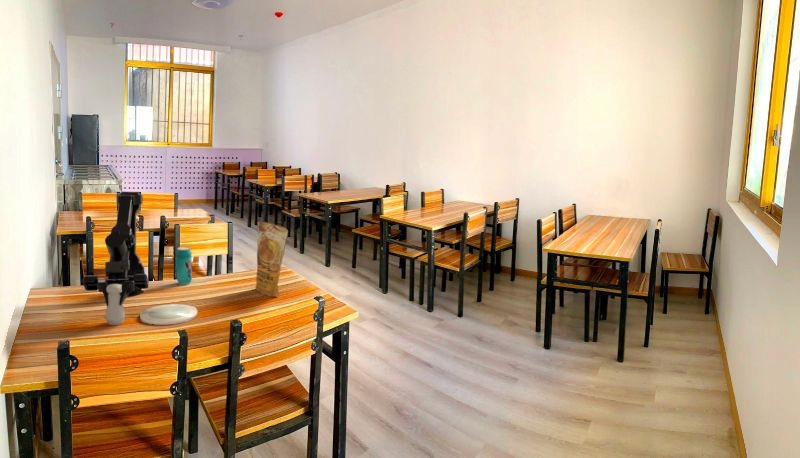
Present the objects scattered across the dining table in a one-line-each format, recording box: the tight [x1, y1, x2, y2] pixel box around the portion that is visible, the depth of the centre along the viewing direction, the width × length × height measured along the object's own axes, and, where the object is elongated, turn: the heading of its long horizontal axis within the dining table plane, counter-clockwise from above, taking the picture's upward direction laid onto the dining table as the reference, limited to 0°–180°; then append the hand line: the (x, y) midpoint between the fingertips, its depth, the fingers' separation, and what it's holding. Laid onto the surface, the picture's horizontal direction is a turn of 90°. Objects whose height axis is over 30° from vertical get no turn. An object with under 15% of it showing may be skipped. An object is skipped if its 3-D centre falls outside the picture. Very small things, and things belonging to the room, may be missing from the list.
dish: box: [139, 303, 198, 326], centre depth 181 cm, size 18×18×1 cm
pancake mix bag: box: [255, 221, 289, 298], centre depth 211 cm, size 7×19×28 cm, turn 44°
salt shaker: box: [104, 284, 126, 326], centre depth 171 cm, size 6×6×13 cm
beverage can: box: [176, 246, 193, 286], centre depth 218 cm, size 6×6×15 cm
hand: (113, 305), depth 169 cm, fingers closed on salt shaker, 3 cm apart
